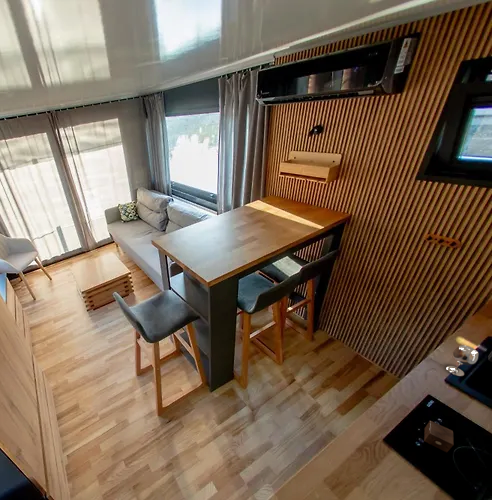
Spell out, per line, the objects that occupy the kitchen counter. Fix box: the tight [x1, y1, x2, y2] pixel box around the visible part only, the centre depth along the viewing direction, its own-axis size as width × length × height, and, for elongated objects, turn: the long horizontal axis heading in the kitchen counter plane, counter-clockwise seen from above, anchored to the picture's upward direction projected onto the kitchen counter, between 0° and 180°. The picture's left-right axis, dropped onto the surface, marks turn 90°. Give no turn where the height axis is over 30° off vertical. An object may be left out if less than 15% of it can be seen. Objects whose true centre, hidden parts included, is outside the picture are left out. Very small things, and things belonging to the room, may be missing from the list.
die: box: [423, 420, 454, 453], centre depth 81 cm, size 5×5×5 cm
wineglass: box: [446, 344, 479, 377], centre depth 97 cm, size 6×6×12 cm
